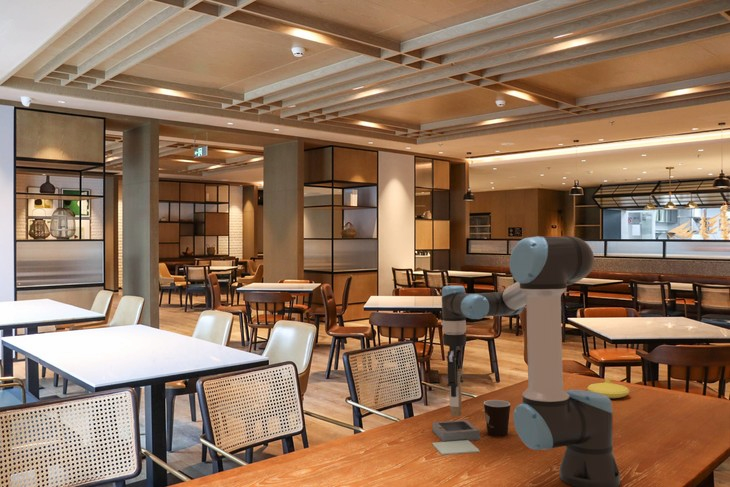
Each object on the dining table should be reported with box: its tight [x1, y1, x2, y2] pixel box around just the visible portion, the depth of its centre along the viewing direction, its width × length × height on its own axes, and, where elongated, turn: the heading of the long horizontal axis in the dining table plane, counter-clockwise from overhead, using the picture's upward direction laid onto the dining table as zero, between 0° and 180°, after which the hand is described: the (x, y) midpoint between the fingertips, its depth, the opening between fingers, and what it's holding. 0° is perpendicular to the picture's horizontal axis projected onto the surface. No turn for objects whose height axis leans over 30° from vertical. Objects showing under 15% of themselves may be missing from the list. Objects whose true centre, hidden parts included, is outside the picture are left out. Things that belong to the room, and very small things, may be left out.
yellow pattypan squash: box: [587, 377, 630, 399], centre depth 249 cm, size 16×16×7 cm
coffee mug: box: [483, 399, 511, 438], centre depth 205 cm, size 12×9×10 cm
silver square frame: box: [432, 419, 481, 442], centre depth 202 cm, size 12×12×3 cm
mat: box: [431, 440, 481, 456], centre depth 190 cm, size 10×12×1 cm
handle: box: [446, 368, 464, 417], centre depth 202 cm, size 5×6×15 cm
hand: (455, 404), depth 202 cm, fingers closed on handle, 4 cm apart
